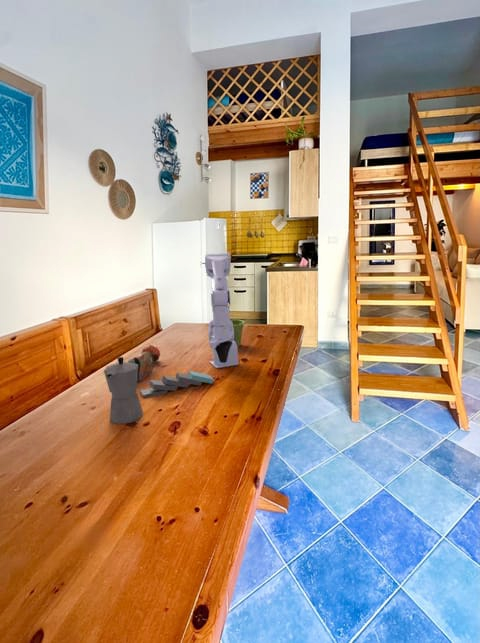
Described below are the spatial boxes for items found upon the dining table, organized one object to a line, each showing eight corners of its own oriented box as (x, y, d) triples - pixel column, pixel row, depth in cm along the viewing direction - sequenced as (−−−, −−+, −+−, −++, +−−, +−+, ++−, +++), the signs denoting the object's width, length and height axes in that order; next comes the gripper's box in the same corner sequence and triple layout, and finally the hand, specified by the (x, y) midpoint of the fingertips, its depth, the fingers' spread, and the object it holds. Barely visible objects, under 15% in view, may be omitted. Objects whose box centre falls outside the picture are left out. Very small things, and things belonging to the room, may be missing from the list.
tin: (137, 384, 133) (135, 361, 131) (129, 383, 134) (126, 361, 132) (154, 369, 147) (153, 348, 146) (147, 368, 148) (145, 348, 146)
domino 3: (184, 379, 132) (163, 375, 128) (189, 383, 128) (167, 379, 124) (183, 383, 132) (161, 379, 128) (187, 388, 128) (165, 384, 124)
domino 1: (163, 385, 129) (140, 390, 125) (167, 389, 125) (143, 395, 121) (164, 389, 129) (140, 394, 126) (167, 394, 125) (143, 399, 122)
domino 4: (198, 377, 134) (176, 372, 130) (201, 381, 130) (179, 376, 126) (196, 381, 134) (175, 376, 130) (200, 385, 130) (178, 381, 126)
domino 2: (172, 381, 130) (150, 380, 126) (177, 386, 126) (154, 384, 122) (171, 386, 130) (149, 384, 126) (176, 390, 126) (153, 389, 122)
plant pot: (234, 341, 183) (233, 318, 180) (250, 346, 174) (250, 322, 171) (214, 346, 175) (213, 322, 173) (230, 351, 166) (229, 326, 164)
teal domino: (209, 375, 135) (189, 370, 132) (213, 379, 131) (192, 374, 128) (208, 379, 135) (187, 374, 132) (212, 383, 131) (191, 379, 128)
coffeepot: (127, 429, 102) (121, 366, 98) (98, 425, 104) (90, 363, 100) (156, 405, 116) (151, 349, 112) (129, 402, 119) (124, 347, 115)
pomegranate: (161, 368, 154) (163, 348, 160) (156, 359, 148) (158, 338, 155) (143, 371, 154) (146, 351, 161) (137, 361, 149) (140, 340, 155)
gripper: (221, 319, 139) (222, 354, 142) (200, 328, 126) (203, 367, 129) (238, 320, 136) (239, 356, 139) (219, 330, 123) (221, 369, 126)
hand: (223, 361), depth 134 cm, fingers closed
